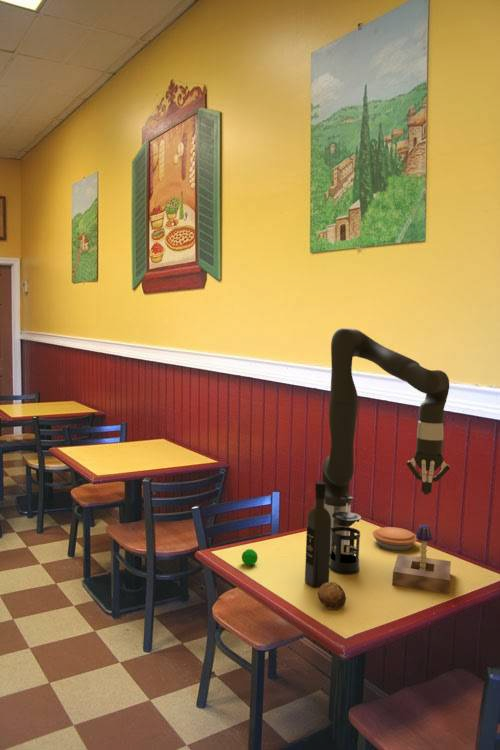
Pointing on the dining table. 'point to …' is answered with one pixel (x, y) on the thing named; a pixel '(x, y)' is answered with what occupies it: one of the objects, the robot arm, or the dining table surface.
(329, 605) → the brown round lump
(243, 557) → the green ball
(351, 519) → the french press
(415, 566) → the socket block
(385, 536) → the pie
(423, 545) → the toy lamp
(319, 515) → the wine bottle
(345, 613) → the dining table surface
